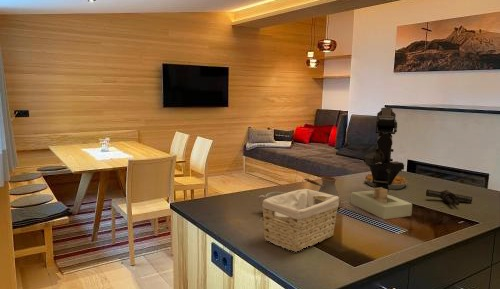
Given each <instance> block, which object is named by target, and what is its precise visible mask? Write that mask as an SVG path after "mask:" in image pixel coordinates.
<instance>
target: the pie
mask: <svg viewBox="0 0 500 289" xmlns="http://www.w3.org/2000/svg"><path fill="white" fill-rule="evenodd" d="M364 179H365V181H366V183H367V184H369V186H370V187H373V188H374V183H372V181H373V177H372V173H371V174H366V175H365V177H364ZM406 184H408V180H407V178H405V177H403V175H402V176H401V175H399V176H398V175H397V176H396V177H395V179H394V180H393V182H392V184H391V185H388V190H401V189H403V188H404V187H405V186H406Z"/></svg>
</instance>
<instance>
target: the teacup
mask: <svg viewBox="0 0 500 289" xmlns="http://www.w3.org/2000/svg"><path fill="white" fill-rule="evenodd" d="M284 193H285V192H284V191H283V192H282V191H271V192H268V193H266V194H265V195H264V194H261V195H259V196H258V197H257V203H258V204H259V205H260V206H261V207H262V205H263V202H262V201H261V199H263V200H265V199H267V198H270V197H273V196H277V195H281V194H284Z"/></svg>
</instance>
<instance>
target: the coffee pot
mask: <svg viewBox="0 0 500 289" xmlns="http://www.w3.org/2000/svg"><path fill="white" fill-rule="evenodd" d="M304 181H305V183H310V184H313V185H315V186H319V190H318V192H322V193H326V194H330V195H333V196H338V197H339V205H338V207H339V206H340V205H341V204H342V200H341V197H340V195H339V191H338V189H337V187H336V184H335V183H336V181H337V178H336V177H332V176H322V177H321V182H322V183H318V182H316V181H314V180H313V179H312V180H311V179H309V178H303V179H302V181H301V182H302V183H304ZM313 200H314V203H315V204H319V203H322V202H324V201H321V200H318V199H317V200H316V199H313Z"/></svg>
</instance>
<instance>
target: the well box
mask: <svg viewBox="0 0 500 289" xmlns="http://www.w3.org/2000/svg"><path fill="white" fill-rule="evenodd" d="M373 195H374V189H373V190H365V191H354V192H350V204H351V205H354V206H355V207H358V208H360V209H362V210H363V211H366V212H368V213H371V214H372V215H374V216H376V217H379V218H380V219H381V220H388V219H389V220H390V219H395V218H396V219H397V218H403V217H404V218H405V217H411V216H412V213H413V203H411V202H408V201H406V200H404V199H403V200H402V199H400V198H399V197H395V196H392V195H391V194H389V193H388V194H387V203H383V202H380V201H378V200H376V199H373Z"/></svg>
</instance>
